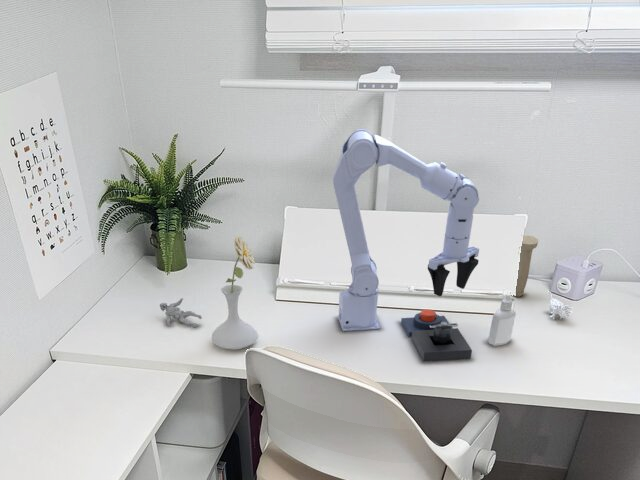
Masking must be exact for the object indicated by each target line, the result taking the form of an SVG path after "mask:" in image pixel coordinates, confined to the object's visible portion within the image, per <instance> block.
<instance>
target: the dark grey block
mask: <svg viewBox="0 0 640 480" xmlns="http://www.w3.org/2000/svg"><path fill="white" fill-rule="evenodd" d="M448 323H449V322H448ZM448 323H447V322H441V323H437V324H436V325H430V328H434V335H433V342H432V343H433V344H434V346H435V345H450V339H451V332H452V329H453V328H456V327H458V323H456V322H454V323H449V324H448Z"/></svg>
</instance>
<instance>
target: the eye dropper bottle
mask: <svg viewBox="0 0 640 480" xmlns="http://www.w3.org/2000/svg"><path fill="white" fill-rule="evenodd" d="M513 303H514V301H513V299H511V294H509V293H507V294H506V296H505V297H504V298H502V300H501V302H500V307H499V308H498V309H497V310H496V311H495V312H494V313H493V315H492V319H491V324H490V328H489V335H488V338H487V343H488V344H490V345H491V346H495V347H497V346H504V345H506V344H508V343H509V342H510V341H511V338H512V333H513V329H514V323H515V319H516V315H517V314H516V313H517V312H516V311H515V310H514V309H512V307H513Z"/></svg>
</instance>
